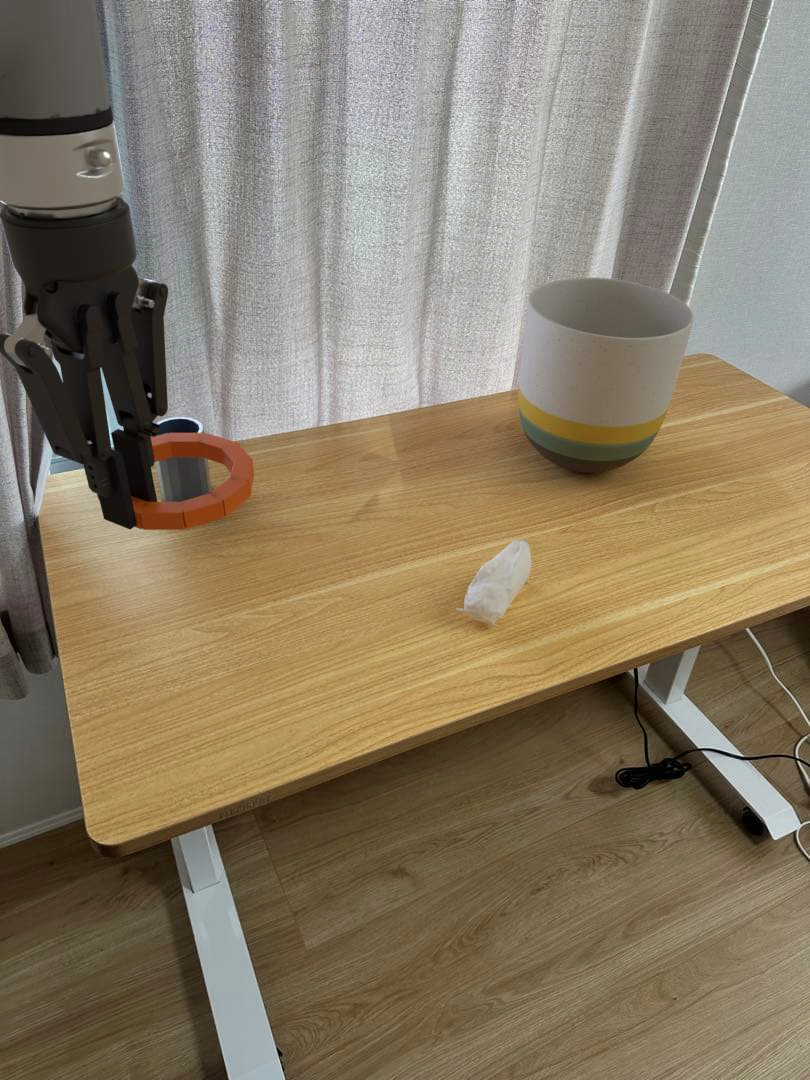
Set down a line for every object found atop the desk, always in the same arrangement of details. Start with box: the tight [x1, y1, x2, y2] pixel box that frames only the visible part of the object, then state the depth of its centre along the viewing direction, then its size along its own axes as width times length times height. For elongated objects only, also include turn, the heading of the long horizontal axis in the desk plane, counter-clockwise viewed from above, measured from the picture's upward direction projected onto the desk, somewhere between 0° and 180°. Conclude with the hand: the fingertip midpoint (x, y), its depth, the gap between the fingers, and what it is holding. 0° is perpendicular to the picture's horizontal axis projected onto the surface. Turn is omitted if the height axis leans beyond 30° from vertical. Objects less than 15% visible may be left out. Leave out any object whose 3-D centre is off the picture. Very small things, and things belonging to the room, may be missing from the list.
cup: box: [151, 416, 213, 502], centre depth 96 cm, size 6×6×9 cm
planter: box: [517, 277, 695, 474], centre depth 103 cm, size 20×20×21 cm
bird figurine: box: [455, 538, 533, 628], centre depth 84 cm, size 5×7×10 cm
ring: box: [96, 432, 255, 531], centre depth 67 cm, size 12×12×2 cm
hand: (131, 513), depth 63 cm, fingers closed on ring, 2 cm apart
